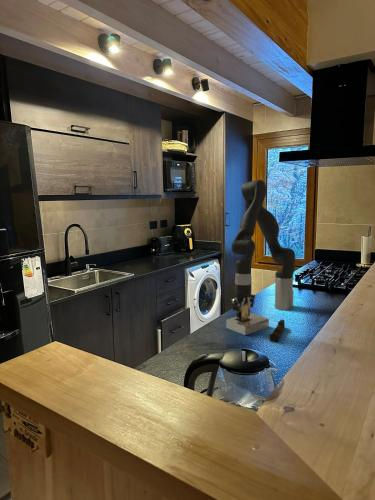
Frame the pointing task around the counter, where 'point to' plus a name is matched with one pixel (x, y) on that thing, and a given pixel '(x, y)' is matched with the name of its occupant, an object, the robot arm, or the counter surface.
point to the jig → (248, 324)
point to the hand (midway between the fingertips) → (243, 317)
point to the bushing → (244, 313)
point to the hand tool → (277, 331)
